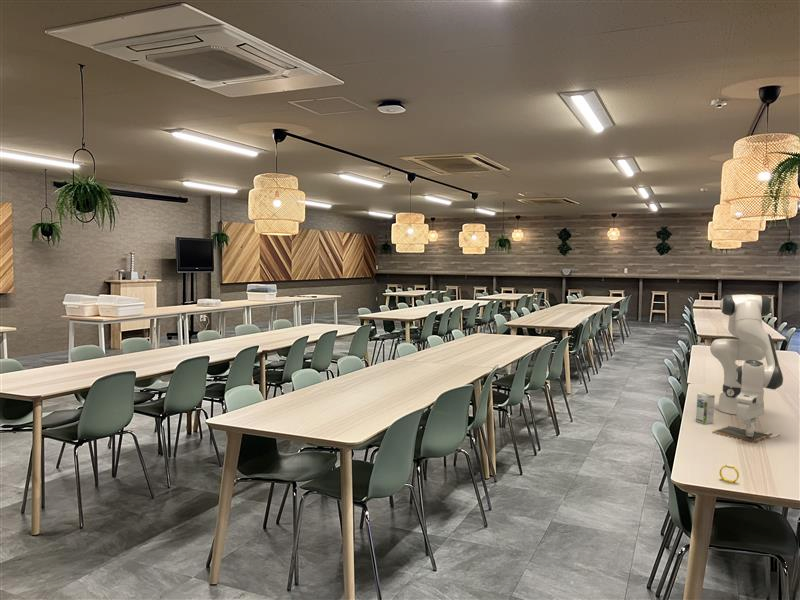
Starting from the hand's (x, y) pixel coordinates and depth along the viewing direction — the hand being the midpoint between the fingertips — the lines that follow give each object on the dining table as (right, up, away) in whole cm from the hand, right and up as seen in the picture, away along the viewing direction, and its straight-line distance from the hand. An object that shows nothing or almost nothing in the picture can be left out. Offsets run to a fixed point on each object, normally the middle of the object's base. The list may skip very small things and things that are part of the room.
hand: (750, 427), depth 262 cm
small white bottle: (0, -4, 0) cm, 4 cm away
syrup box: (-6, -4, +27) cm, 28 cm away
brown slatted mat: (0, -5, +7) cm, 8 cm away
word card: (+13, -5, +7) cm, 16 cm away
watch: (-39, -8, -53) cm, 66 cm away
